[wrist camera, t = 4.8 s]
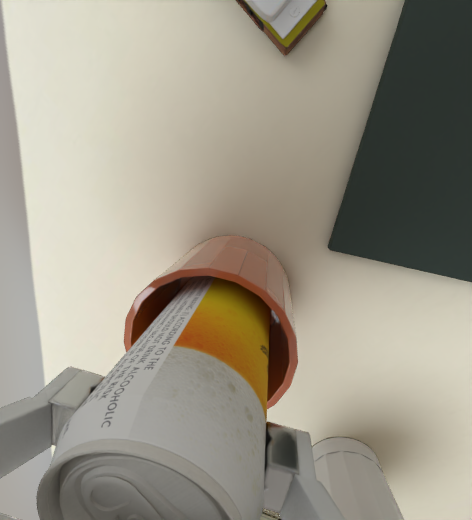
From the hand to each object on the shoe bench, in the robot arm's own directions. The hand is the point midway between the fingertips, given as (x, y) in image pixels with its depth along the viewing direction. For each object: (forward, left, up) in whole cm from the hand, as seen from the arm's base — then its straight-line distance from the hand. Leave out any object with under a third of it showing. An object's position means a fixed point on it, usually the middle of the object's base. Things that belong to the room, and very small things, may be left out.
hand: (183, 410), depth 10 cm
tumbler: (0, 0, -12) cm, 12 cm away
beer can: (0, 0, -12) cm, 12 cm away
